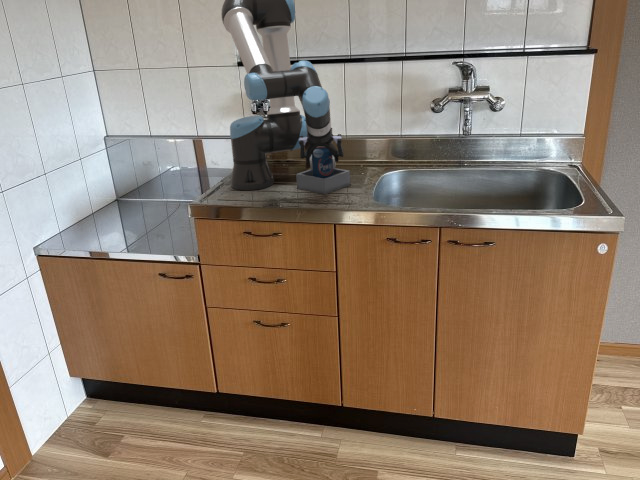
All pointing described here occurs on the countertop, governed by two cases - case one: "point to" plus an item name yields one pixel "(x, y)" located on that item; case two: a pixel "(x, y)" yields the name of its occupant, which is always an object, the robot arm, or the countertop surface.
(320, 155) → the soda can
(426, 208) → the countertop surface
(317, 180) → the tote
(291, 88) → the robot arm
